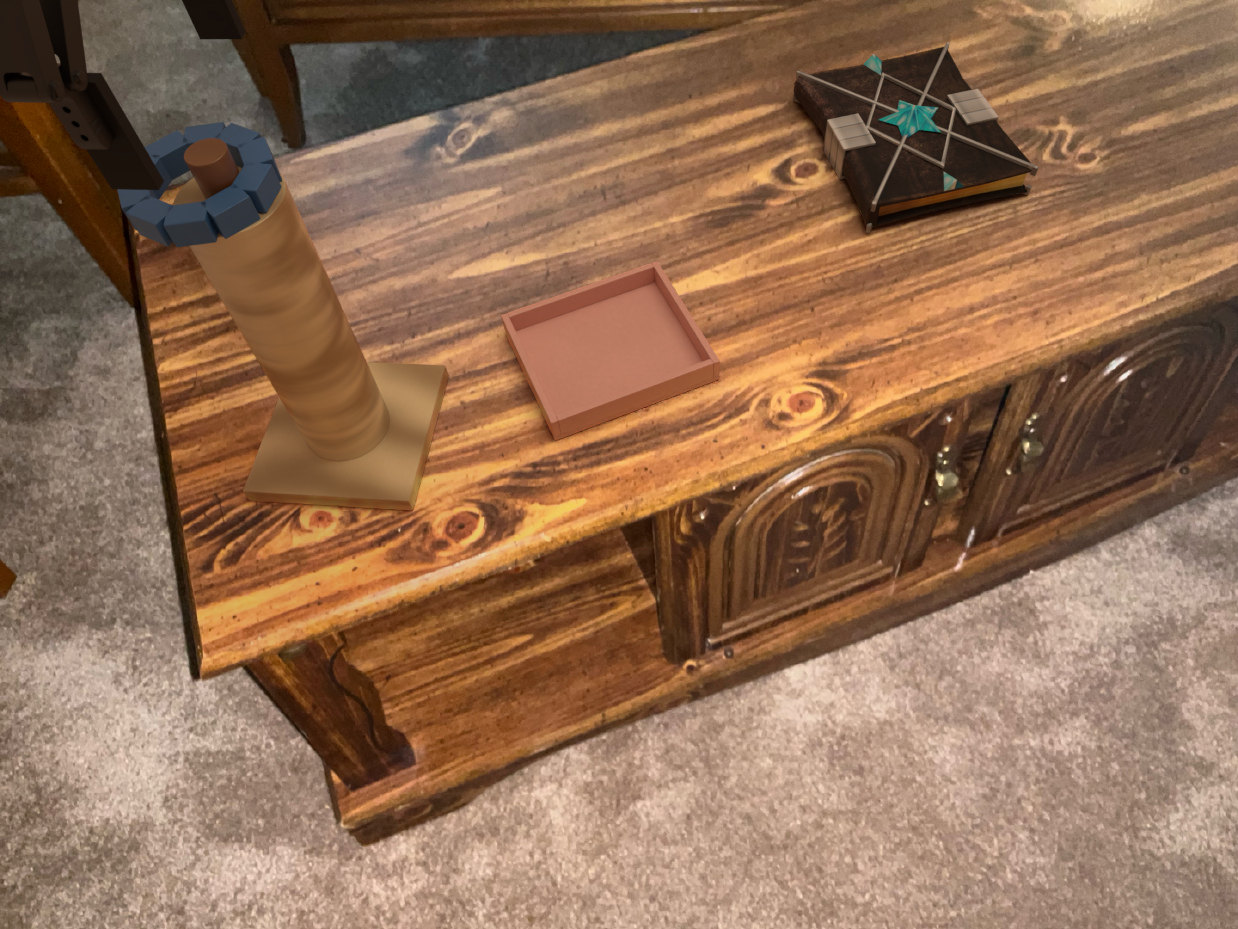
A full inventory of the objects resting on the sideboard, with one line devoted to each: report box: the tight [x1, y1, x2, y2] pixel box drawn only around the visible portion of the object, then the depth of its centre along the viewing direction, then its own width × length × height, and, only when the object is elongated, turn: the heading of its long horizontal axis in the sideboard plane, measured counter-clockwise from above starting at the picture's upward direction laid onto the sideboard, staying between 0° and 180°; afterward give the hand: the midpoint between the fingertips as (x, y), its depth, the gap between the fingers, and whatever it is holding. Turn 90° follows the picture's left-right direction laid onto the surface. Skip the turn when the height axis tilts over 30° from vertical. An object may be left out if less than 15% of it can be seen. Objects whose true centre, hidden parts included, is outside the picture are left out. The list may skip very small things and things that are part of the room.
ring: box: [116, 121, 282, 248], centre depth 60 cm, size 9×10×2 cm
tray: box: [500, 260, 721, 441], centre depth 84 cm, size 15×13×2 cm
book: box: [792, 42, 1040, 234], centre depth 95 cm, size 22×17×5 cm
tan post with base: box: [172, 138, 450, 511], centre depth 70 cm, size 14×14×30 cm
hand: (183, 105), depth 55 cm, fingers open, 13 cm apart
